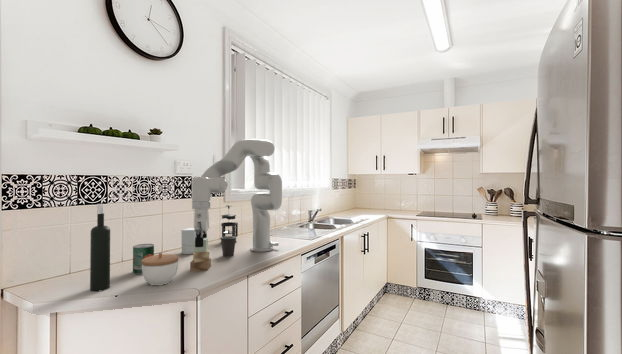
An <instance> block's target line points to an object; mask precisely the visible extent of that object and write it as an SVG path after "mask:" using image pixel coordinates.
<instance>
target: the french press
mask: <svg viewBox="0 0 622 354" xmlns="http://www.w3.org/2000/svg"><path fill="white" fill-rule="evenodd" d="M226 207H227V209H228V212H227V214H222V215H221V219H222V220H224V219H227V221H226V222H221V224H220V226H221V237H223V236H226V235H231V236H234V237H236V238H237V237H238V236H239V235H238V234H239V233H238V232H239V231H238V229H239V226H238V225H239V224H238V222H232V220H235V219H236V216H237V214H230V207H232V205H230V204H229V205H226ZM230 220H231V222H230ZM226 227H227V228H228V230H227V231H226ZM230 227H231V230H230ZM220 244H221V245H222V243H221V242H220ZM235 244H237V239H236V240H235Z"/></svg>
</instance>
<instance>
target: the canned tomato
mask: <svg viewBox="0 0 622 354" xmlns="http://www.w3.org/2000/svg"><path fill="white" fill-rule="evenodd" d="M150 256H155V244H153V243H141V244H135V245H133V246H132V274H134V275H143V274H142V264H141V260H142V259H144V258H146V257H150Z"/></svg>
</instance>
